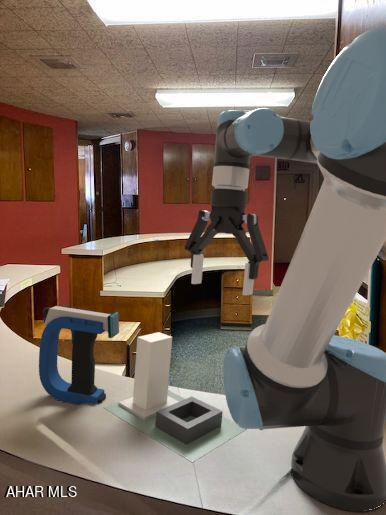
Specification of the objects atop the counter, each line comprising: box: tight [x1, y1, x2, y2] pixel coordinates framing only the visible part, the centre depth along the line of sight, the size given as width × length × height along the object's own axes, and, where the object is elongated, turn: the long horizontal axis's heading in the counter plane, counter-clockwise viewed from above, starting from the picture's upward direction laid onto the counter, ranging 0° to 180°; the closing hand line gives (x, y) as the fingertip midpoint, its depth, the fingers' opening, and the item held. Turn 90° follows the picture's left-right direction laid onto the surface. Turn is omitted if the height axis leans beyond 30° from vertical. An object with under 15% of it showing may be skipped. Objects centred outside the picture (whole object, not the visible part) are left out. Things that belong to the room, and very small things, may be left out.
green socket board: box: [103, 389, 248, 463], centre depth 82 cm, size 24×16×4 cm, turn 48°
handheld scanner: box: [38, 305, 120, 406], centre depth 87 cm, size 5×16×20 cm, turn 78°
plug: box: [132, 331, 173, 410], centre depth 85 cm, size 4×6×14 cm, turn 138°
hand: (220, 288), depth 89 cm, fingers open, 13 cm apart
